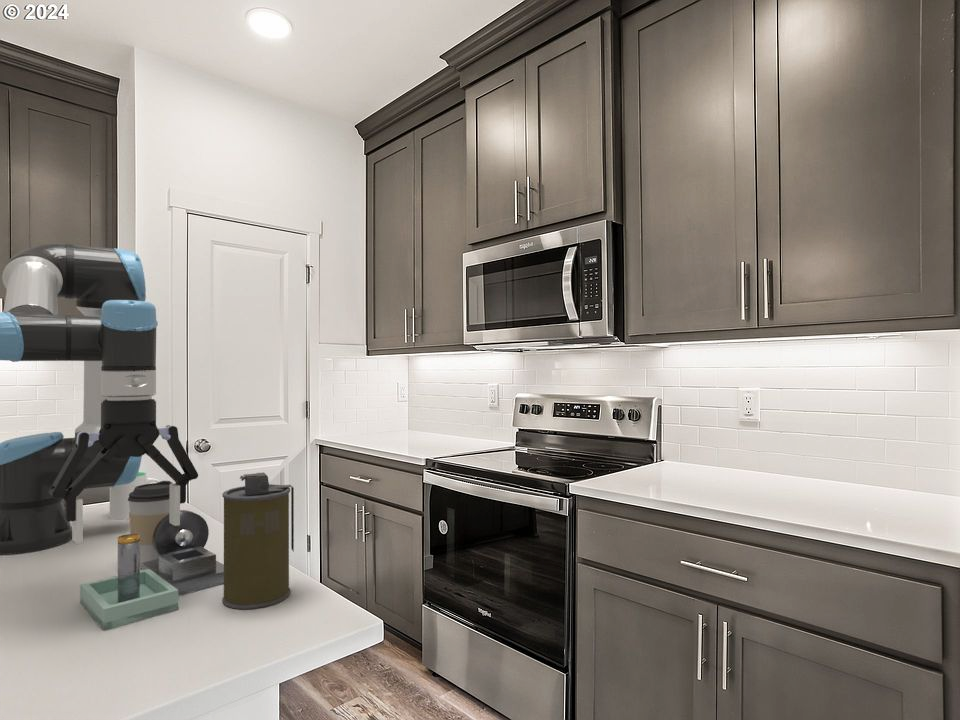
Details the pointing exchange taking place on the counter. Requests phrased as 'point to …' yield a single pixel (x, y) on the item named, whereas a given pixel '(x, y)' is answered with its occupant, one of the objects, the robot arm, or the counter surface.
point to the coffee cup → (148, 514)
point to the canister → (257, 543)
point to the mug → (125, 496)
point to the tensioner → (185, 554)
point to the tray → (110, 613)
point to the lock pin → (128, 567)
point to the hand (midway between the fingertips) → (128, 532)
